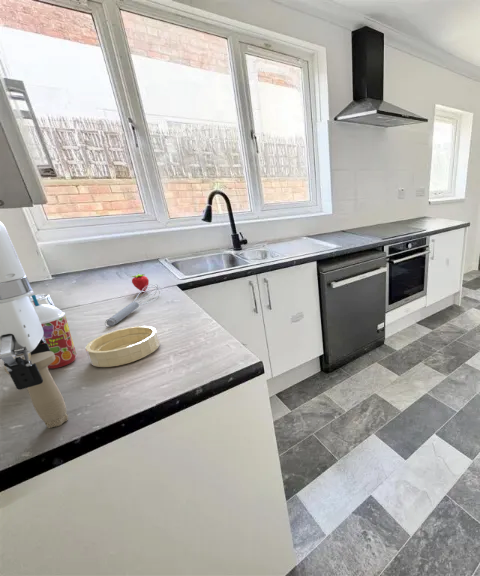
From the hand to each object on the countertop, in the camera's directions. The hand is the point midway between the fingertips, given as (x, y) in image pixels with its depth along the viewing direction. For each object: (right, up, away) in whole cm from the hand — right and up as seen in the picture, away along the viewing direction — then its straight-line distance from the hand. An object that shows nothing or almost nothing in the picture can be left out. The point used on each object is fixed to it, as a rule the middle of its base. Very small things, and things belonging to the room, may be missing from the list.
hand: (37, 373), depth 60 cm
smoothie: (-22, -4, +25) cm, 34 cm away
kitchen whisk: (-29, +8, +61) cm, 68 cm away
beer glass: (-37, -1, +37) cm, 52 cm away
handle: (0, -11, +4) cm, 12 cm away
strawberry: (-43, +14, +81) cm, 92 cm away
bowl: (-7, -2, +30) cm, 31 cm away
